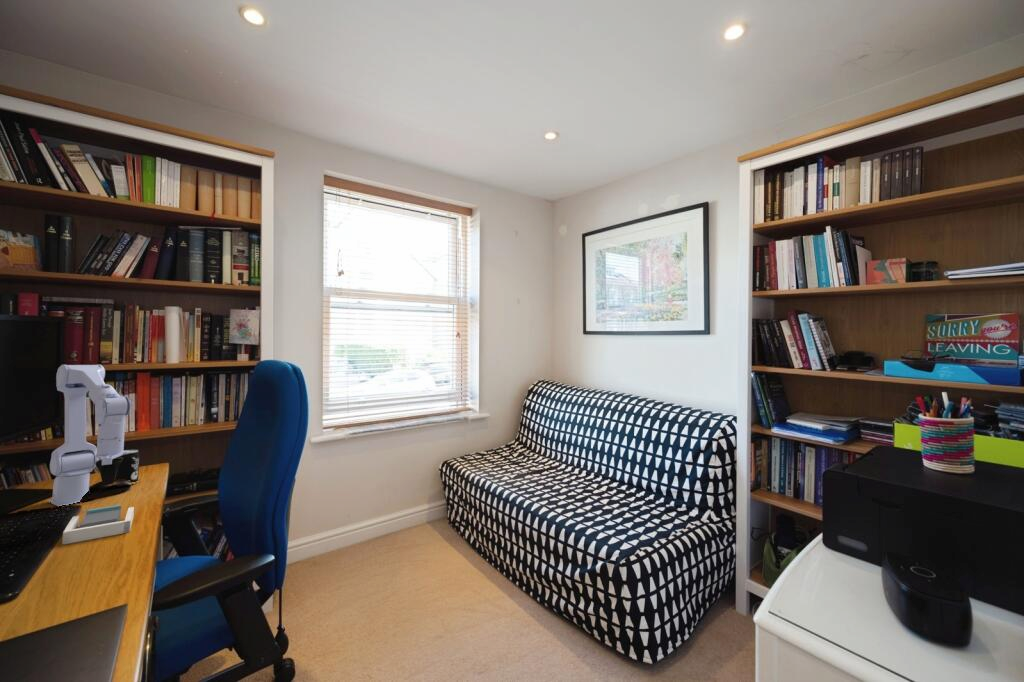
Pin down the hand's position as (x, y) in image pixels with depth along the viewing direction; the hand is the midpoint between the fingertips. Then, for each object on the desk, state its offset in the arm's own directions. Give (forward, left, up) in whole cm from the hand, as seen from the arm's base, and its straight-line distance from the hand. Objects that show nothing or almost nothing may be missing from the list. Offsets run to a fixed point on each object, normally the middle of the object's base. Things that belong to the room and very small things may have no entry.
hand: (108, 484), depth 121 cm
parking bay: (+11, -5, -9) cm, 15 cm away
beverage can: (-31, +16, -10) cm, 37 cm away
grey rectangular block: (+9, -4, -9) cm, 14 cm away
